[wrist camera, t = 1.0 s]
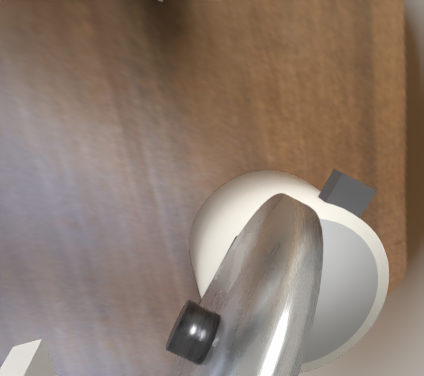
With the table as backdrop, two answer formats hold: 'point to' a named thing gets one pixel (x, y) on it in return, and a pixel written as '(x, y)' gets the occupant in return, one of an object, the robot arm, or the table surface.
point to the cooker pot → (332, 252)
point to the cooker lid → (256, 299)
